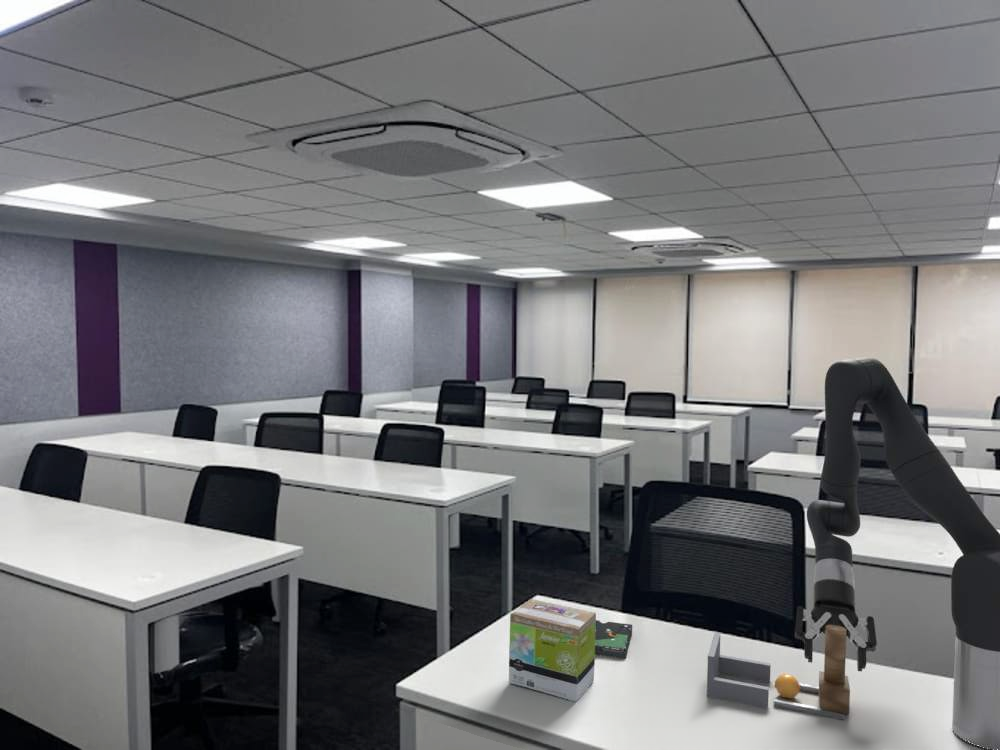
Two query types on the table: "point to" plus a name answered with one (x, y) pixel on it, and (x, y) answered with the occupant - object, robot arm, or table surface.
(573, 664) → the tea box
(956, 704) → the robot arm
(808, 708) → the track
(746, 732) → the table surface
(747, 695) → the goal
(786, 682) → the ball
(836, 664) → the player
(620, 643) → the disk drive
